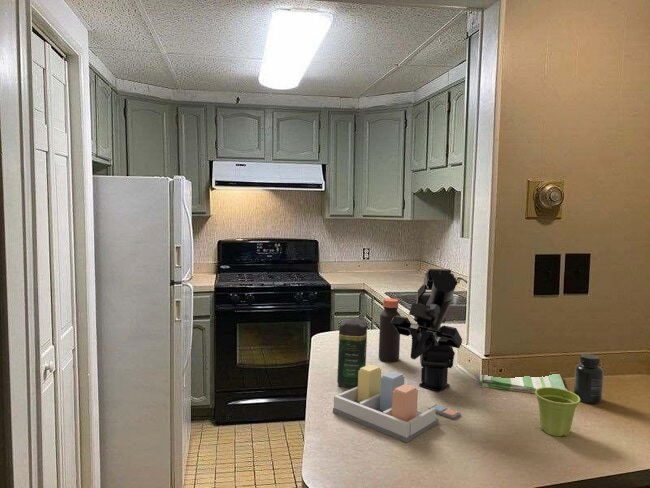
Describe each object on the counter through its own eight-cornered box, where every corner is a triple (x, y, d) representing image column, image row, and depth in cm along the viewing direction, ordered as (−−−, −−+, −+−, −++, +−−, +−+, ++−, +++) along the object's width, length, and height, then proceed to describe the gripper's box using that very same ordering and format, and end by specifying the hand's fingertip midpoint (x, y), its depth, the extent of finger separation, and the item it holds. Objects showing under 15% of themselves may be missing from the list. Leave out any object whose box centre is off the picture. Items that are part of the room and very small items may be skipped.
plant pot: (575, 444, 108) (578, 406, 107) (529, 433, 113) (531, 396, 112) (579, 428, 116) (582, 392, 115) (536, 418, 121) (538, 384, 120)
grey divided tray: (438, 422, 117) (439, 406, 117) (406, 442, 107) (407, 424, 107) (366, 396, 132) (367, 382, 131) (332, 411, 122) (333, 396, 121)
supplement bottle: (600, 397, 135) (603, 354, 134) (602, 406, 129) (606, 362, 128) (572, 392, 138) (575, 351, 137) (573, 401, 132) (576, 357, 131)
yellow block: (380, 399, 127) (381, 367, 126) (368, 405, 123) (369, 371, 122) (369, 395, 129) (370, 363, 128) (357, 401, 125) (358, 368, 125)
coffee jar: (363, 390, 136) (366, 324, 134) (335, 388, 137) (337, 322, 136) (366, 378, 146) (368, 316, 144) (339, 375, 147) (341, 314, 145)
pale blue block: (403, 407, 122) (404, 374, 121) (391, 414, 118) (392, 379, 118) (391, 403, 124) (392, 370, 124) (379, 409, 121) (380, 375, 120)
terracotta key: (416, 423, 114) (418, 387, 113) (404, 430, 110) (405, 393, 109) (403, 418, 116) (405, 383, 115) (391, 425, 112) (392, 388, 112)
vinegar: (402, 358, 164) (404, 299, 162) (393, 364, 159) (396, 302, 157) (383, 354, 168) (386, 297, 166) (374, 360, 162) (377, 300, 160)
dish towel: (569, 400, 134) (570, 390, 134) (479, 389, 141) (479, 379, 140) (558, 378, 151) (559, 369, 151) (478, 368, 158) (479, 360, 157)
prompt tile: (460, 415, 122) (460, 412, 122) (453, 419, 119) (453, 416, 119) (435, 406, 126) (435, 403, 126) (428, 410, 124) (428, 407, 124)
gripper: (395, 286, 134) (370, 333, 127) (459, 296, 122) (435, 349, 115) (410, 309, 141) (386, 356, 134) (471, 322, 129) (449, 373, 122)
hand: (412, 358), depth 126 cm, fingers closed
